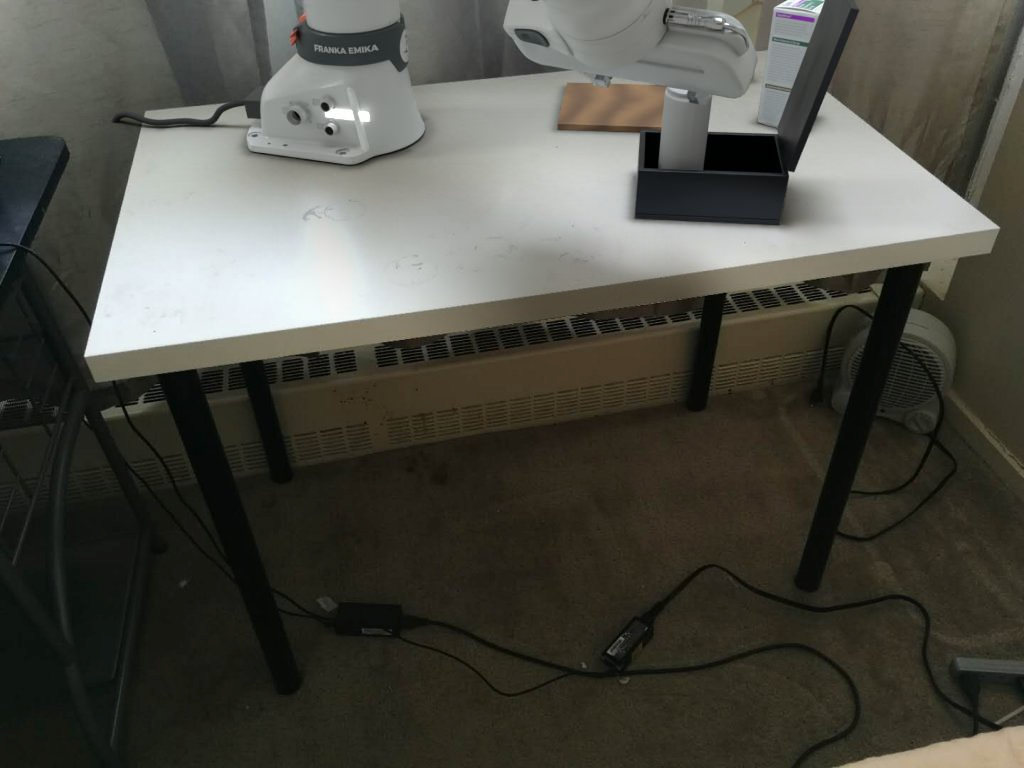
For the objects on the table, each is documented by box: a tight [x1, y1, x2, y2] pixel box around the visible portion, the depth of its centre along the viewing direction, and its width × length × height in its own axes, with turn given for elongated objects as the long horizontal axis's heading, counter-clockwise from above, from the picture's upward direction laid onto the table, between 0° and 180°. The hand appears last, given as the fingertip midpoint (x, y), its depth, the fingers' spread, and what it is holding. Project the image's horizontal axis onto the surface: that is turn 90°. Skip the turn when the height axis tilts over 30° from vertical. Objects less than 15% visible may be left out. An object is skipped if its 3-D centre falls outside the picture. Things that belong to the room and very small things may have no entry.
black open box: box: [634, 129, 790, 226], centre depth 93 cm, size 15×10×6 cm
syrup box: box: [756, 0, 825, 129], centre depth 106 cm, size 6×6×14 cm
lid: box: [776, 0, 860, 173], centre depth 85 cm, size 16×10×1 cm
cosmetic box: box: [706, 0, 764, 49], centre depth 118 cm, size 6×4×12 cm
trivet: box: [556, 82, 667, 133], centre depth 114 cm, size 14×14×1 cm
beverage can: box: [658, 87, 713, 170], centre depth 91 cm, size 5×5×12 cm
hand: (651, 87), depth 78 cm, fingers open, 8 cm apart
